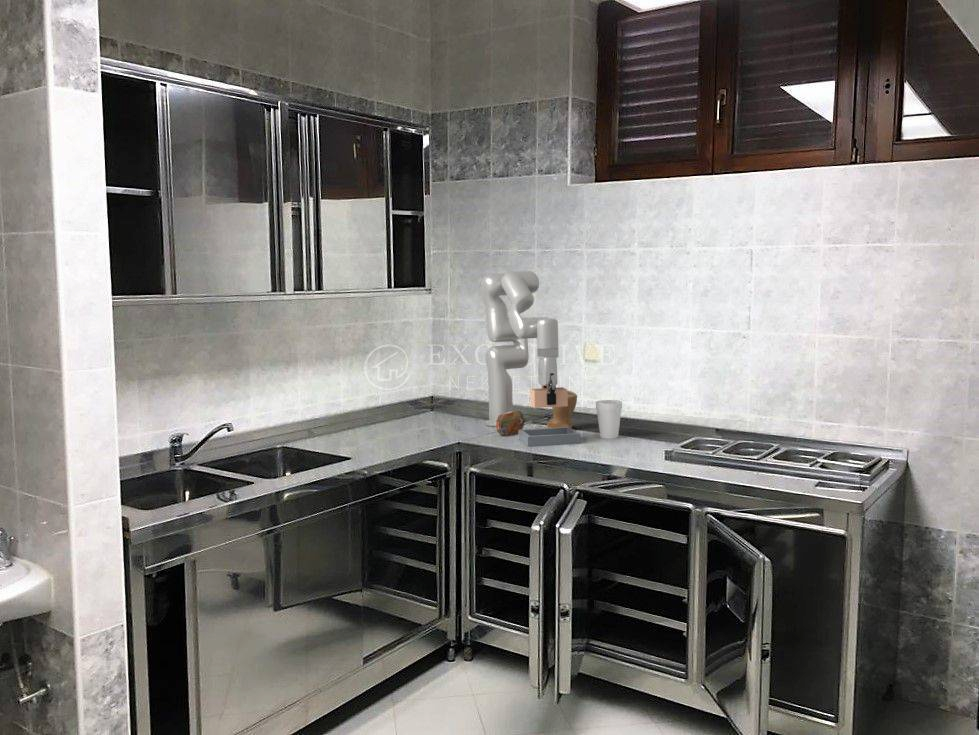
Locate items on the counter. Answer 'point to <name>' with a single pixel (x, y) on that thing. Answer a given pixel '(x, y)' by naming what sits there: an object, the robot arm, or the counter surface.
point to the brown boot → (563, 413)
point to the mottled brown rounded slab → (510, 423)
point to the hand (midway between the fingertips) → (548, 402)
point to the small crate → (540, 397)
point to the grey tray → (549, 436)
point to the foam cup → (609, 417)
